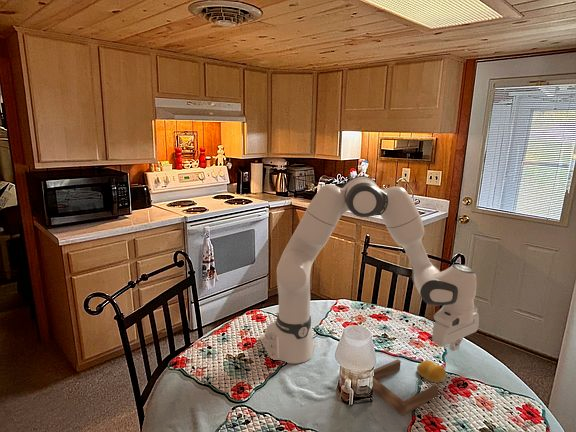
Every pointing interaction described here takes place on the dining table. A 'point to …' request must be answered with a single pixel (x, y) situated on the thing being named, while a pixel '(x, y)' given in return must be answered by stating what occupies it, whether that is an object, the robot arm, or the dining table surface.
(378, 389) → the tray
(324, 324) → the dining table surface
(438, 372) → the bread roll
